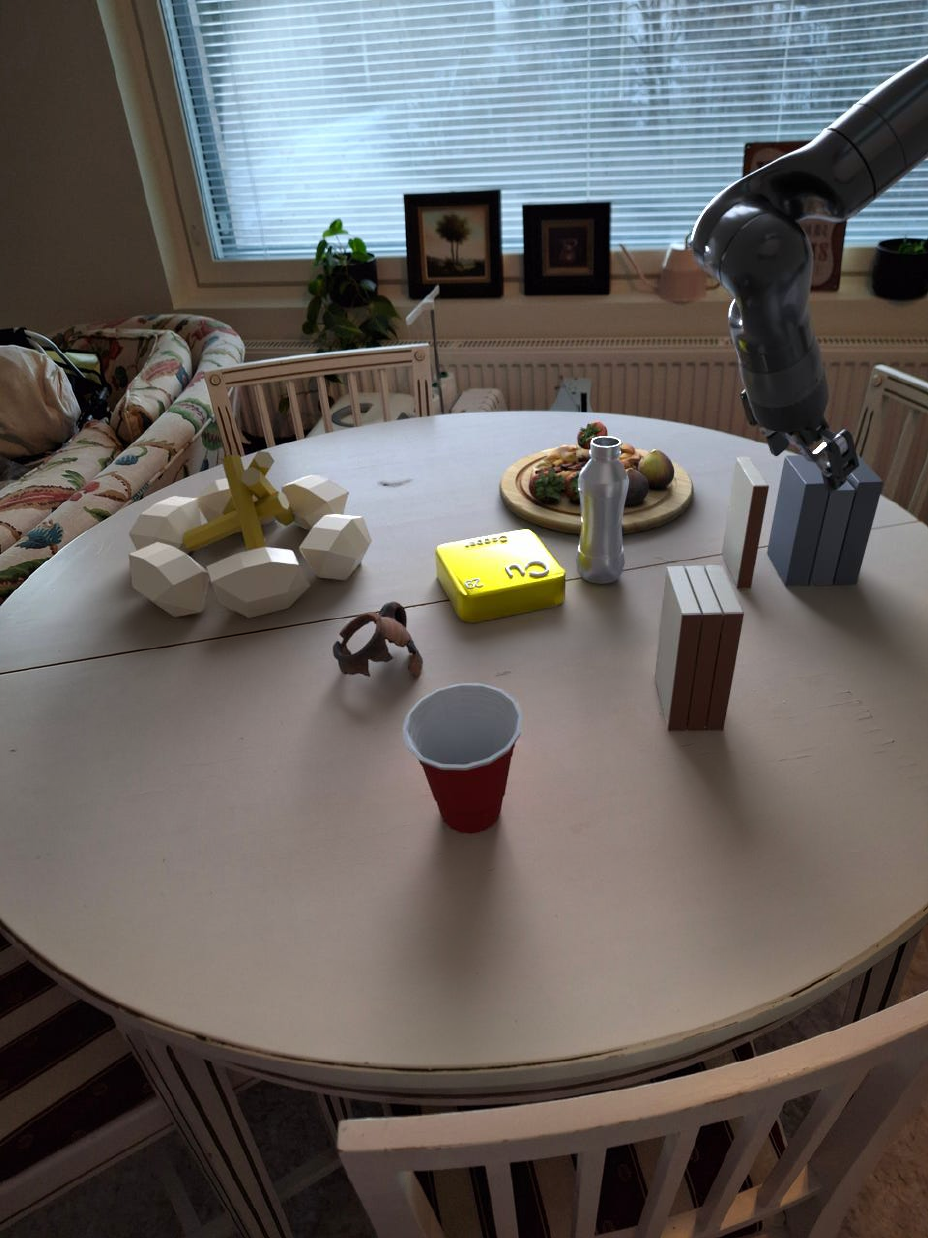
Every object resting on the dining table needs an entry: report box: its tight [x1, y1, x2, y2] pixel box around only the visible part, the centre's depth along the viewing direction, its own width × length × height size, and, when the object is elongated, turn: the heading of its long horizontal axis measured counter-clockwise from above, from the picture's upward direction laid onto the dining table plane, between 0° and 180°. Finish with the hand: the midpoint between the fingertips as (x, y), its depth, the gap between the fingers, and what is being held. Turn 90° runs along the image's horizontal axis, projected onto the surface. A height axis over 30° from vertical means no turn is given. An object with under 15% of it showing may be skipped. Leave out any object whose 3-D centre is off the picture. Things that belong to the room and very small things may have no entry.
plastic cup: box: [401, 682, 524, 835], centre depth 74 cm, size 11×11×12 cm
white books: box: [654, 564, 745, 732], centre depth 85 cm, size 6×9×15 cm, turn 178°
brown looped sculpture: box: [332, 601, 424, 679], centre depth 97 cm, size 12×10×8 cm
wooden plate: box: [498, 421, 695, 535], centre depth 132 cm, size 32×32×8 cm
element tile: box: [434, 529, 567, 624], centre depth 110 cm, size 15×15×5 cm
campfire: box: [128, 450, 373, 619], centre depth 116 cm, size 35×34×17 cm
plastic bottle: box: [575, 436, 629, 585], centre depth 107 cm, size 6×7×20 cm
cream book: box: [721, 456, 770, 590], centre depth 108 cm, size 2×9×15 cm, turn 178°
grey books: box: [766, 452, 884, 587], centre depth 107 cm, size 9×9×15 cm
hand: (807, 467), depth 93 cm, fingers open, 8 cm apart
